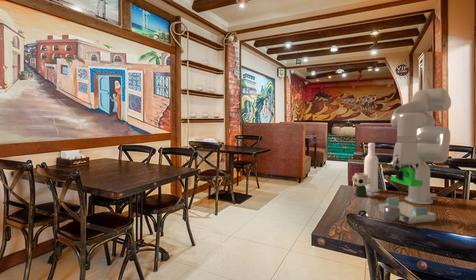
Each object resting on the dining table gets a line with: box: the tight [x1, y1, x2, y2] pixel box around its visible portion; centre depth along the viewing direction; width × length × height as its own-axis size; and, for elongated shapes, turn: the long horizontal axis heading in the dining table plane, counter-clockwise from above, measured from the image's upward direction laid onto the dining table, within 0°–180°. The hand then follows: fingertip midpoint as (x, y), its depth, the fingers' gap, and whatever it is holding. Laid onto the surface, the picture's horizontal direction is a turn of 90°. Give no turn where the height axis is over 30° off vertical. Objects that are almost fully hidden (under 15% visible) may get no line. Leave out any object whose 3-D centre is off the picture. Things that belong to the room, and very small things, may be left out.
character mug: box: [351, 172, 370, 197], centre depth 157 cm, size 11×7×13 cm, turn 34°
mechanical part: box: [390, 166, 423, 187], centre depth 124 cm, size 12×6×8 cm, turn 12°
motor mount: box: [377, 196, 437, 225], centre depth 124 cm, size 22×18×6 cm
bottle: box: [363, 142, 379, 193], centre depth 167 cm, size 8×8×30 cm
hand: (405, 178), depth 124 cm, fingers closed on mechanical part, 6 cm apart
